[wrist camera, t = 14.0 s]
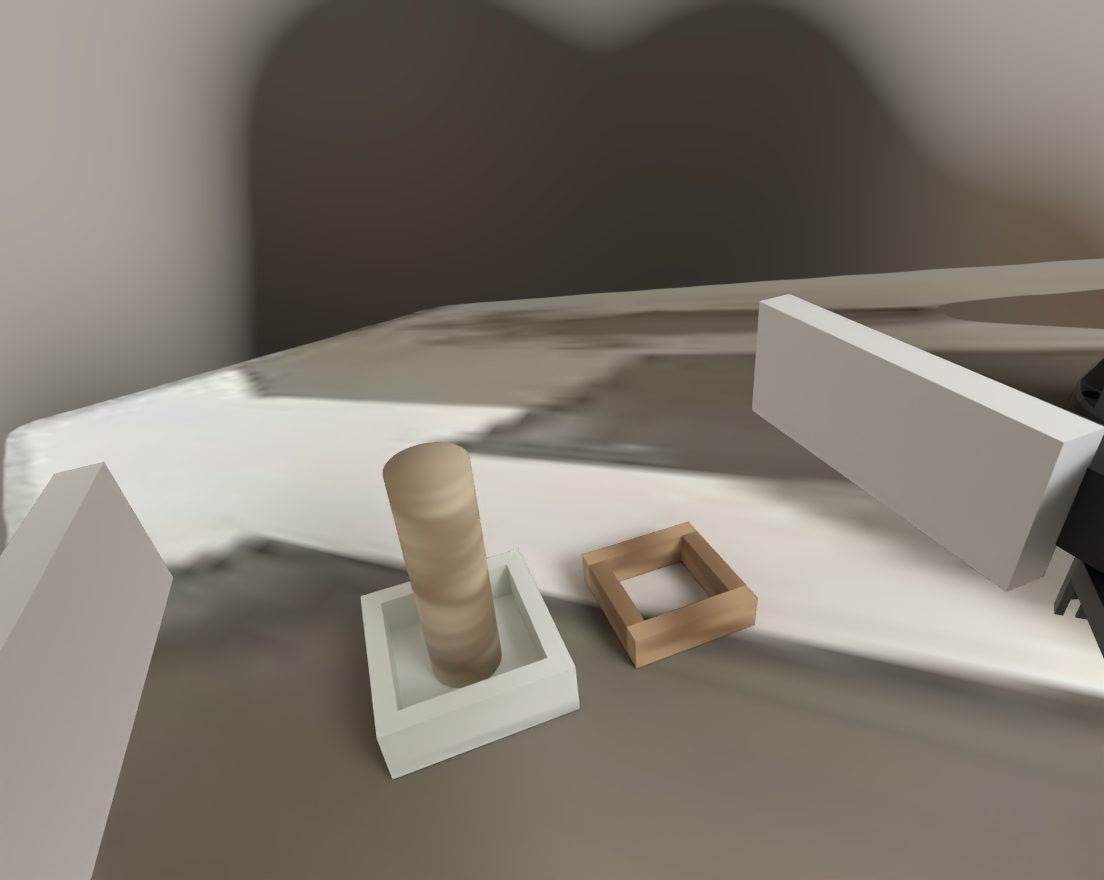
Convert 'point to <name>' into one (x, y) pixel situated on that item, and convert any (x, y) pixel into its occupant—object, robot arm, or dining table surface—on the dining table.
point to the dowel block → (681, 626)
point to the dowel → (445, 559)
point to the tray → (476, 710)
